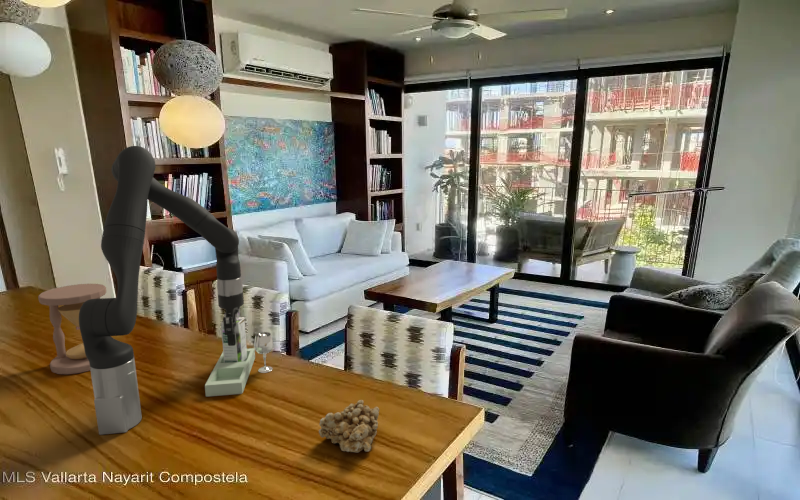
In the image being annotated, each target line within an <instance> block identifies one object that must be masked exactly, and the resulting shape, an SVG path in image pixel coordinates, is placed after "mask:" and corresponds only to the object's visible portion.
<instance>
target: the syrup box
mask: <svg viewBox="0 0 800 500" xmlns="http://www.w3.org/2000/svg"><path fill="white" fill-rule="evenodd" d="M245 319H246V318H245V316H242V317H241V316H240V317H239V318H237V322H236V327H235V340H236V344H235V345H234V346H229V345H228V338H227V335H225V334H224V333H225V332H224V323H223V320H222V321H221V322H220V327H221V329H220V331H221V341H222V350H223V351H222V352H223V354H224V363H229V362H243V361H245V360H246V358H247V349H248V347H247V337H246V336H247V335H246V321H245ZM234 323H235V322H233V324H234ZM229 331H231V328H229Z"/></svg>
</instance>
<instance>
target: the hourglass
mask: <svg viewBox="0 0 800 500" xmlns="http://www.w3.org/2000/svg"><path fill="white" fill-rule="evenodd" d="M106 293H107V287H106V286H105V285H104V284H101V283H79V284H78V283H77V284H71V285H69V284H68V285H64V286H60V287H55V288H52V289H51V288H50V289H48V290H45V291H43V292H40V294H39V295H38V296H37V297H38V298H37V299H38V302H39V304H41V305H44V306H48V308H49V321H50V322H51V325H52V326H53V333H52V334H53V335H52V339H53V343H54V345H55V350H56V356H55V357H54V358H53V359H52V360H51V361H50V363H49V368H50V370H51V371H50V372H52V373H54V374H57V375H72V374H73V375H74V374H81V373H85V372H89V371H90V372H91V370H90V364H89V360H88V359H87V357H86V354H85V350H84V345H83V343H80V344H78V345H76V346H73V347H71V348H69V349H67V350H66V346H65V345H66V344H65V343H66V342H65V341H66V340H65V339H66V338H65V337H66V336H65V333H64V332H63V330H62V327H61V324H62V316H63V317H64V318H65V319H67V320H68V321H69V322H70V323H72V324H73V325H74V326H76V327H75V329H76V330H78V331H79V330H80V327H79V312H80V308H81V306H82V305H83V303H84V302H85V301H87V300H90V299H101V297H103V296H105V295H106Z"/></svg>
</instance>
